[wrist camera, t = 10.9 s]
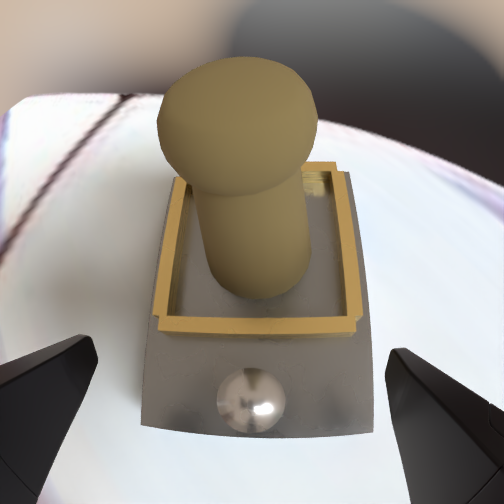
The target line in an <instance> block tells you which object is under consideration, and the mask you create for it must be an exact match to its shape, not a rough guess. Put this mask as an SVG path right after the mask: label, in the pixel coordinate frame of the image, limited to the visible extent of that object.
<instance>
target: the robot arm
mask: <svg viewBox="0 0 504 504" xmlns="http://www.w3.org/2000/svg"><path fill="white" fill-rule="evenodd" d="M97 364H98V356H97V353H96V350H95V347H94V344H93V341H92V339H91V337H90V336H87V335H81V334H80V335H76V336H74V337H71V338H69V339H66V340H64V341H61V342H59V343H56V344H54V345H51V346H49V347H46V348H43V349H41V350H38V351H36V352H33V353H31V354H28V355H26V356H23V357H21V358H18V359H15V360H13V361H10V362H8V363H5V364H3V365H0V504H36V503H37V501H38V497H39V495H40V493H41V490H42V488H43V485H44V483H45V481H46V478H47V476H48V474H49V471H50V469H51V467H52V465H53V462H54V460H55V458H56V456H57V453H58V451H59V449H60V447H61V445H62V443H63V440H64V438H65V436H66V434H67V432H68V430H69V428H70V426H71V424H72V422H73V420H74V418H75V416H76V414H77V412H78V410H79V408H80V406H81V403H82V401H83V399H84V397H85V394H86V392H87V389H88V386H89V384H90V381H91V379H92V376H93V374H94V371H95V369H96V366H97ZM385 382H386V388H387V394H388V400H389V406H390V413H391V420H392V424H393V429H394V433H395V436H396V440H397V444H398V448H399V452H400V456H401V460H402V464H403V469H404V473H405V478H406V482H407V487H408V491H409V496H410V501H411V504H504V411H502V410H501V409H499V408H498V407H496V406H495V405H493V404H491V403H490V404H489V402H488V401H487V400H485V399H484V398H482V397H481V396H479V395H478V394H476V393H474V392H473V391H471V390H470V389H468V388H467V387H465V386H464V385H462V384H461V383H459V382H458V381H456V380H454V379H453V378H451V377H450V376H448V375H447V374H445V373H444V372H442V371H441V370H439V369H437V368H436V367H434V366H433V365H431V364H430V363H428V362H427V361H425V360H424V359H422V358H421V357H419V356H417V355H416V354H414V353H413V352H411V351H410V350H408V349H407V348H394V349H392V350H391V352H390V355H389V359H388V363H387V367H386V371H385Z"/></svg>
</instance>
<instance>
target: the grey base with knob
mask: <svg viewBox="0 0 504 504" xmlns="http://www.w3.org/2000/svg"><path fill="white" fill-rule="evenodd" d="M301 173H302V180H303V187H304V194H305V201H306V209H307V217H308V225H309V233H310V241H311V250H312V254H311V258H310V262H309V267H308V269H307V270H306V272H305V274H304V275H303V277H302V278H301V280H300V281H299V282H298V283H297V284H296V285H294V286H293V287H292V288H291V289H289V290H288V291H287V292H285V293H282V294H280V295H277V296H274V297H272V298H266V299H248V298H244V297H241V296H237V295H234V294H232V293H231V292H229V291H228V290H226V289H225V288H223V287H222V286H220V284H219V283H218V282H217V280H216V279H215V278H214V277H213V275H212V274H211V271H210V268H209V265H208V262H207V258H206V254H205V249H204V244H203V240H202V235H201V230H200V225H199V220H198V215H197V210H196V205H195V200H194V195H193V189H192V185H190V184H188V183H187V182H186V181H185V180H184V179H183V178H182V177H174V179H173V184H172V188H171V193H170V198H169V202H168V207H167V212H166V217H165V222H164V228H163V233H162V239H161V244H160V250H159V256H158V262H157V268H156V274H155V281H154V288H153V295H152V302H151V310H150V318H149V326H148V335H147V344H146V354H145V365H144V378H143V391H142V408H141V425H144V426H149V427H155V428H161V429H167V430H174V431H181V432H188V433H197V434H206V435H217V436H230V437H249V438H312V437H330V436H343V435H354V434H363V433H371V432H373V418H374V396H373V360H372V341H371V326H370V313H369V302H368V292H367V283H366V274H365V266H364V258H363V250H362V243H361V237H360V230H359V224H358V218H357V212H356V206H355V200H354V195H353V190H352V184H351V179H350V174H349V172H344V171H337V166H336V162H305V163H304V164H303V165H302V166H301Z"/></svg>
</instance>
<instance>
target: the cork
mask: <svg viewBox="0 0 504 504" xmlns="http://www.w3.org/2000/svg"><path fill="white" fill-rule="evenodd" d="M317 122H318V116H317V112H316V108H315V104H314V100H313V97H312V94H311V91H310V89H309V88H308V86H307V85H306V84H305V82H304V81H303V80H302V79H301V78H300V77H299V76H298V74H296V73H295V71H294V70H292V69H290V68H288V67H286V66H284V65H282V64H280V63H278V62H275V61H271V60H266V59H262V58H257V57H234V58H225V59H220V60H216V61H213V62H209V63H206V64H204V65H202V66H200V67H197V68H196V69H193V70H191V71H190V72H188V73H187V74H185V75H184V76H183V77H181V78H180V79H179V80H177V81H176V82H175V83H174V84H173V85H172V86H171V87H170V89H169V90H168V91H167V92H166V93H165V95H164V98H163V101H162V104H161V107H160V111H159V114H158V117H157V130H158V137H159V141H160V146H161V149H162V151H163V154H164V156H165V158H166V160H167V162H168V163H169V164H170V165H171V166H172V167H173V168H174V170H175V171H176V172H177V173H178V174H179V175H180V176H181V177H182V178H183V179H184V180H185V181H186V182H187V183H188V184H190V185H192V189H193V195H194V200H195V205H196V210H197V215H198V220H199V225H200V230H201V235H202V240H203V244H204V249H205V254H206V258H207V262H208V265H209V268H210V271H211V274H212V275H213V277H214V278H215V279H216V280H217V282H218V283H219V284H220V286H222V287H223V288H225V289H226V290H228V291H229V292H231V293H232V294H234V295H237V296H241V297H244V298H248V299H266V298H272V297H274V296H277V295H280V294H282V293H285V292H287V291H288V290H289V289H291V288H292V287H293V286H294V285H296V284H297V283H298V282H299V281H300V280H301V278H302V277H303V275H304V274H305V272H306V270H307V269H308V267H309V262H310V258H311V254H312V250H311V241H310V233H309V225H308V217H307V209H306V201H305V194H304V187H303V180H302V173H301V166H302V165H303V164H304V163H305V161H306V160H307V159H308V156H309V154H310V152H311V150H312V148H313V144H314V140H315V136H316V131H317Z"/></svg>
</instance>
